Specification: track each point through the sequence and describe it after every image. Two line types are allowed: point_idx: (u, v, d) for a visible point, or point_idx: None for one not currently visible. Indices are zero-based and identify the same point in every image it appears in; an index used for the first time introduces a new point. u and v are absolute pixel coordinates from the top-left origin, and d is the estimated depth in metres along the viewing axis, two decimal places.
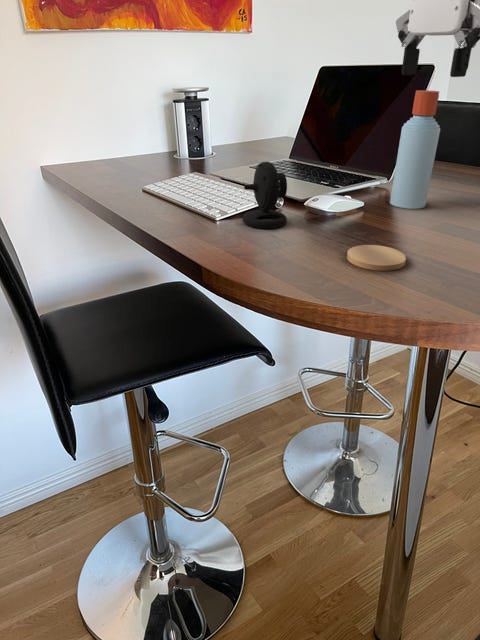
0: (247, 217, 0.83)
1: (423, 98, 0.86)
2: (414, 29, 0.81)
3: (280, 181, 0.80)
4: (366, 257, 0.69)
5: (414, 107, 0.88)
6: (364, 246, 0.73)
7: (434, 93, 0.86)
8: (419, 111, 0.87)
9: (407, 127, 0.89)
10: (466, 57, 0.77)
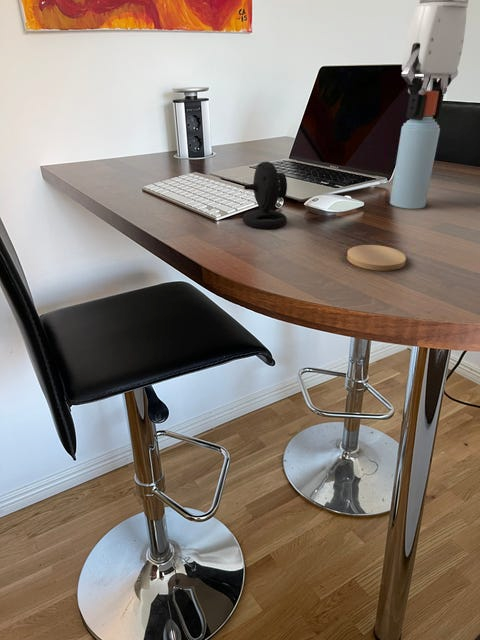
0: (247, 217, 0.83)
1: None
2: (429, 69, 0.82)
3: (280, 181, 0.80)
4: (366, 257, 0.69)
5: None
6: (364, 246, 0.73)
7: (434, 93, 0.86)
8: None
9: (407, 127, 0.89)
10: None
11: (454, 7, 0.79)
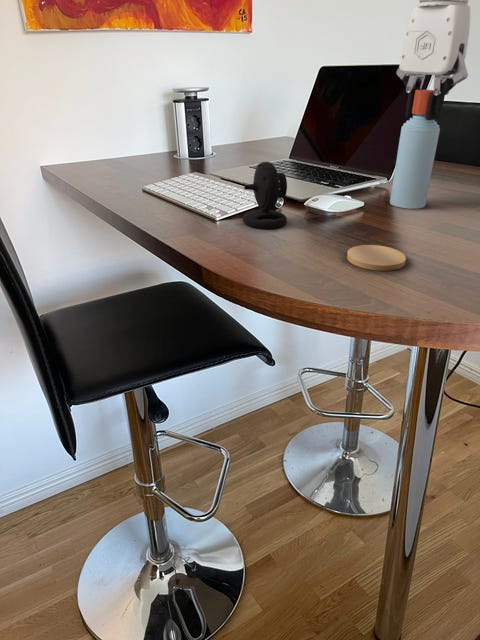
0: (247, 217, 0.83)
1: None
2: None
3: (280, 181, 0.80)
4: (366, 257, 0.69)
5: None
6: (364, 246, 0.73)
7: None
8: None
9: (407, 127, 0.89)
10: None
11: None
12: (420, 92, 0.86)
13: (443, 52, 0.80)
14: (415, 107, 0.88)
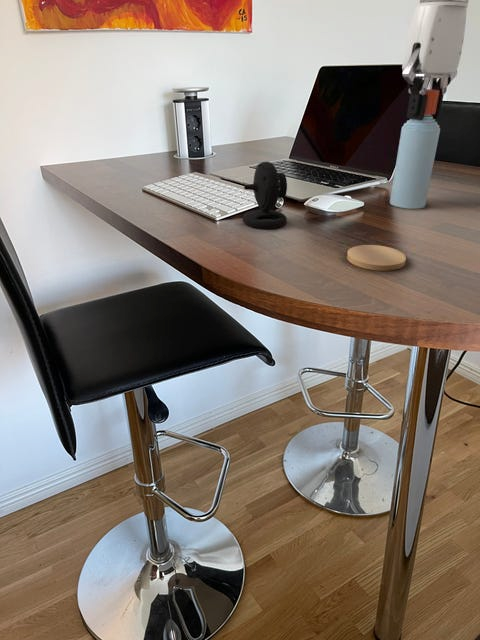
0: (247, 217, 0.83)
1: None
2: (430, 69, 0.82)
3: (280, 181, 0.80)
4: (366, 257, 0.69)
5: None
6: (364, 246, 0.73)
7: None
8: None
9: (407, 127, 0.89)
10: None
11: (454, 7, 0.79)
12: (437, 92, 0.86)
13: None
14: (432, 107, 0.87)
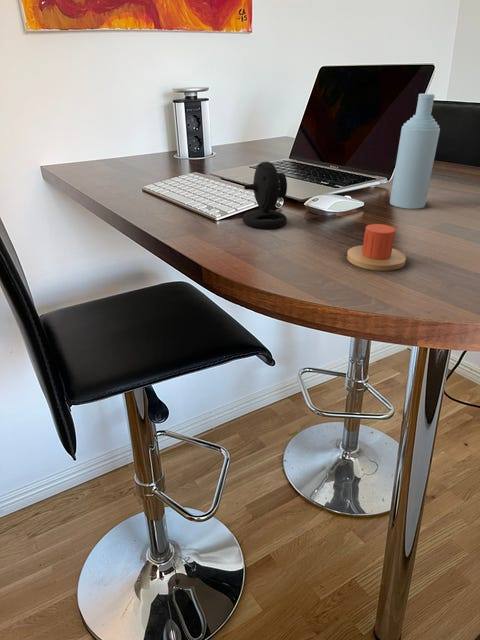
0: (247, 217, 0.83)
1: None
2: None
3: (280, 181, 0.80)
4: (366, 257, 0.69)
5: None
6: None
7: None
8: None
9: (407, 127, 0.89)
10: None
11: None
12: (391, 233, 0.67)
13: None
14: (386, 251, 0.68)
